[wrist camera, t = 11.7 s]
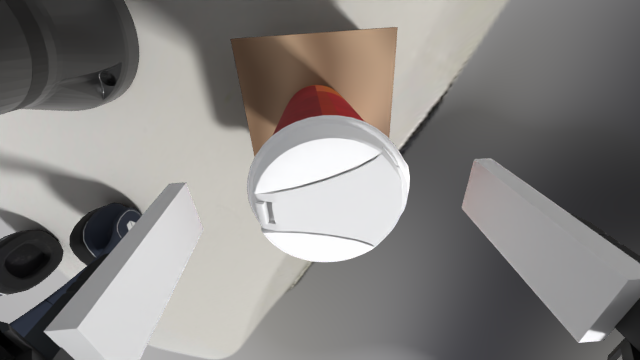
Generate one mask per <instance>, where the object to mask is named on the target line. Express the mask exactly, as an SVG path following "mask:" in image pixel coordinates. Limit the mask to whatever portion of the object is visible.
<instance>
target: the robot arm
mask: <svg viewBox="0 0 640 360" xmlns="http://www.w3.org/2000/svg"><path fill="white" fill-rule="evenodd" d="M138 62H139V44H138V38H137V33H136V29H135V26H134V22H133V20H132V17H131V14H130V12H129V10H128V8H127V6H126V4H125V2H124V0H0V115H1V114H4V113H7V112H10V111H14V110H17V109H34V110H58V111H80V110H87V109H91V108H95V107H98V106H100V105H103V104H105V103H108V102H111V101H113V100H115V99H116V98H118V97H120V96H121V95H122V94H123V93H124V92H125V91H126V90H127V89H128V88H129V87H130V85H131V83H132V82H133V80H134V78H135V75H136V72H137V68H138ZM462 209H463V210H464V211H465V212H466V214H467V215H468V216H469V217H470V218H471V219H472V221H473V222H474V223H475V224H476V225H477V226H478V228H479V229H480V230H481V231H482V232H483V233H484V234H485V235H486V237H487V238H488V239H489V240H490V241H491V243H492V244H493V245H494V246H495V247H496V248H497V249H498V250H499V252H500V253H501V254H502V255H503V256H504V257H505V259H506V260H507V261H508V262H509V263H510V264H511V266H512V267H513V268H514V269H515V270H516V271H517V272H518V274H519V275H520V276H521V277H522V278H523V279H524V280H525V282H526V283H527V284H528V285H529V286H530V287H531V289H532V290H533V291H534V292H535V293H536V294H537V296H538V297H539V298H540V299H541V300H542V301H543V302H544V304H545V305H546V306H547V307H548V308H549V309H550V310H551V312H552V313H553V314H554V315H555V316H556V317H557V319H558V320H559V321H560V322H561V323H562V324H563V325H564V326H565V328H566V329H567V330H568V331H569V332H570V334H571V335H572V336H573V337H574V338H575V339H576V340H577V342H579V343H581V342H592V341H602V340H605V339H606V337H607V336H608V335H609V334H610V333H611V332H612V331H613V330H614V328H616V329H617V330H618V331H619V332H620V333H621V334H622V335H623V336H624V337H625V338H624V339H623V341H621V343H620V344H619V345H618V346H617V347H616V348H615V349H614V350H613V351H612V352H611V353H610V354H609V355H608V359H607V360H617V359H618V358H619V357H620V356H622V359H623V360H640V256H639V255H637V254H636V253H635V252H633V251H632V250H630V249H629V248H627V247H626V246H624V245H620V243H619V242H618V241H617V240H615V239H614V238H613V237H611V236H607V235H606V233H605V232H604V231H602V230H601V229H599V228H598V227H597V226H595V225H594V224H592V223H591V222H589V221H586V220H584V219H582V218H580V217H577V216H575V215H573V214H569V213H568V212H566V211H565V210H563V209H562V208H561V207H559V206H558V205H556V204H555V203H554V202H552V201H551V200H549V199H548V198H546V197H545V196H543V195H542V194H541V193H539V192H538V191H537V190H535V189H534V188H532V187H531V186H529V185H528V184H527V183H525V182H524V181H522V180H521V179H520V178H518V177H517V176H515V175H514V174H513V173H511V172H510V171H508V170H507V169H505V168H504V167H503V166H501V165H500V164H498V163H497V162H496V161H494V160H493V159H491V158H487V159H475V160H474V163H473V167H472V170H471V174H470V178H469V182H468V185H467V190H466V193H465V197H464V201H463V204H462ZM203 230H204V229H203V226H202V224H201V221H200V218H199V215H198V213H197V210H196V207H195V205H194V202H193V199H192V197H191V194H190V191H189V189H188V186H187V183H186V182H185V183H172V184H168V186H167V187H166V188H165V189H164V190H163V191H162V193H161V194H160V195H159V196H158V197H157V199H156V200H155V201H154V202H153V203H152V204H151V206H150V207H149V208H148V209H147V210H146V211H145V213H144V214H143V215H142V216H141V217H140V219H139V220H138V221H137V222H136V223H135V224H134V226H133V227H132V228H131V229H130V230H129V231H128V233H127V234H126V235H125V236H124V237H123V239H122V240H121V241H120V242H119V243H118V244H117V246H116V247H115V248H114V249H113V250H112V251H111V253H107V254H103V255H102V256H101V257H99V258H98V259H97V260H95V261H94V262H93V263H91V264H90V265H88V267H87V268H86V269H85V270H84V271H83V272H82V273H81V274H80V275H79V277H78V278H77V279H76V282H73V283H72V284H71V285H70V287H69V288H68V289H67V290H66V293H65V294H62V296H61V297H60V298H59V299H58V300H57V301H56V302H55V303H54V304H53V306H52V307H51V308H50V309H49V310H48V311H47V312H46V313H45V314H44V316H43V317H42V318H41V319H40V320H39V321H38V322H37V323H36V325H35V326H34V327H33V328H32V329H31V330H30V331H29V332H28V333H27V335H26V336H25V337H22V336H21V335H20V334H19V333H18V332H17V331H16V330H15V329H13V328H12V327H11V326H10V325H9V324H8V323H4V322H0V360H140V358H141V356H142V354H143V352H144V350H145V348H146V346H147V344H148V342H149V340H150V338H151V336H152V334H153V332H154V330H155V328H156V325H157V323H158V321H159V319H160V317H161V315H162V313H163V311H164V309H165V307H166V305H167V303H168V301H169V299H170V297H171V295H172V293H173V291H174V289H175V287H176V285H177V283H178V281H179V279H180V277H181V274H182V272H183V270H184V268H185V266H186V264H187V262H188V260H189V258H190V256H191V254H192V252H193V250H194V248H195V246H196V244H197V242H198V240H199V238H200V236H201V234H202V232H203Z"/></svg>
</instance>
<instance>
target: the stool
mask: <svg viewBox="0 0 640 360" xmlns="http://www.w3.org/2000/svg"><path fill="white" fill-rule="evenodd" d="M397 28H398V27H390V28H376V29H362V30H348V31H334V32H319V33H305V34H291V35H277V36H263V37H249V38H235V39H231V44H232V49H233V54H234V58H235V63H236V68H237V73H238V78H239V83H240V88H241V93H242V97H243V102H244V107H245V112H246V117H247V122H248V127H249V131H250V136H251V141H252V146H253V151H254V156H256V154H257V153H258V151H259V150H260V148H261V147H262V146H263V144H264V143H265V142H266V141H267V140H268V139H269V138H270V137H271V136H272V135H273V133H274V131H275V129H276V127H277V125H278V123H279V120H280V118H281V116H282V114H283V112H284V110H285V108H286V106H287V104H288V103H289V101H290V99H291V98H292V97H293V96H294V94H296V93H297V92H298V91H299V90H301V89H302V88H305V87H307V86H311V85H323V86H327V87H330V88H332V89H333V90H335V91H336V92H338V93H339V94H340V95H341V96H342V97H343V98H344V99H345V100H346V101H347V102H348V103H349V104H350V105H351V107H352V108H353V109H354V110H355V111H356V112H357V113H358V114H359V116H360V117H361V118H362V119H363V120H364V121H365V122H366V123H368V124H370V125H372V126H374V127H376V128H377V129H379V130H380V131H381V132H382V133H384V134H385V135H386V136H387V137H388V138H389V133H390V120H391V106H392V93H393V80H394V67H395V54H396V41H397Z"/></svg>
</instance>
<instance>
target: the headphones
mask: <svg viewBox="0 0 640 360" xmlns="http://www.w3.org/2000/svg"><path fill="white" fill-rule="evenodd" d="M141 216H142V214H141V213H140V212H139V211H138V210H136V209H135V208H130V207H129V208H127V207H125V206H124V205H122V204H118V203H112V204H109V205H107V206H103V207H101V208H98V209H96V210H94V211H92V212H89V213H88V214H87V215H85V216H84V217H83V218H82V219H81V220H80V221H79V222H78V223H77V224H76V225H75V227H74V229H73V231H72V233H71V235H70V247H71V249H72V251H73V253H74V254H75V255H76V256H77V257H78V258H79V259H80V260H81V261H82V262H83V263H85V264H86V265H87V267H88V265H90V264H91V263H93V262H94V261H95V260H97V259H98V258H99V257H101V256H102V255H103V254H107V253H111V251H112V250H113V249H114V248H115V247H116V246H117V244H118V243H119V242H120V241H121V240H122V239H123V237H124V236H125V235H126V234H127V233H128V231H129V230H130V229H131V228H132V227H133V226H134V224H135V223H136V222H137V221H138V220H139V219H140V217H141ZM62 257H63V249H62V247H61V245H60V243H59V242H58V241H57V240H56V239H55V238H54V237H52V236H51V235H50V234H48V233H46V232H44V231H41V230H27V231H20V232H16V233H13V234H11V235H8V236H5V237H3V238H1V239H0V296H1V295H7V294H13V293H18V292H22V291H26V290H28V289H30V288H32V287H34V286H36V285H37V284H39V283H40V282H42V281H43V280H44V279H45V278H47V277H48V276H49V275H50V274H51V273H52V272H53V271H54V270H55V269H56V268H57V267H58V265H59V264H60V262H61V261H62ZM87 267H85V268H84V269H83V270H82V271H81V272H79V273H78V274H77V275H76V276H75V277H73V278H72V279H71V280H70V281H69V282H67V283H66V284H65V285H64V286H62V287H61V288H60V289H58V290H57V291H56V292H54V293H53V294H52V295H50V296H49V297H48V298H47V299H45V300H44V301H42V302H41V303H40V304H38V305H37V306H36V307H34V308H33V309H31V310H30V311H28V312H27V313H25V314H24V315H22V316H21V317H19V318H18V319H16V320H15V321H13V322H12V323H10V324H9V325H10V326H11V327H12V328H13V329H15V330H16V331H17V332H18V333H19V334H20V335H21V336H22V337H25V336H26V335H27V333H28V332H29V331H30V330H31V329H32V328H33V327H34V326H35V325H36V323H37V322H38V321H39V320H40V319H41V318H42V317H43V316H44V314H45V313H46V312H47V311H48V310H49V309H50V308H51V307H52V306H53V304H54V303H55V302H56V301H57V300H58V299H59V298H60V297H61V296H62V294H65V293H66V290H67V289H68V288H69V287H70V285H71V284H72V283H73V282H76V279H77V278H78V277H79V275H80V274H81V273H82V272H83V271H84V270H85V269H86V268H87Z"/></svg>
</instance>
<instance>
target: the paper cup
mask: <svg viewBox="0 0 640 360" xmlns="http://www.w3.org/2000/svg"><path fill="white" fill-rule="evenodd" d="M409 181H410V175H409V168H408V165H407V164H406V162H405V161H404V159H403V157H402V156H401V154H400V153H399V151H398V149H397V147H396V146H395V145H394V143H393V142H392V141H391V140H390V139H389V138H388V137H387V136H386V135H385V134H384V133H382V132H381V131H380V130H379V129H377V128H376V127H374V126H372V125H370V124H368V123H366V122H365V121H364V120H363V119H362V118H361V117H360V116H359V114H358V113H357V112H356V111H355V110H354V109H353V108H352V107H351V105H350V104H349V103H348V102H347V101H346V100H345V99H344V98H343V97H342V96H341V95H340V94H339V93H338V92H336V91H335V90H333V89H332V88H330V87H327V86H323V85H311V86H307V87H305V88H302V89H301V90H299V91H298V92H297V93H296V94H294V96H293V97H292V98H291V99H290V101H289V103H288V104H287V106H286V108H285V110H284V112H283V114H282V116H281V118H280V120H279V123H278V125H277V127H276V129H275V131H274V133H273V135H272V136H271V137H270V138H269V139H268V140H267V141H266V142H265V143H264V144H263V146H262V147H261V148H260V150H259V151H258V153H257V154H256V156H255V158H254V160H253V162H252V165H251V167H250V171H249V175H248V181H247V192H248V199H249V203H250V206H251V209H252V211H253V213H254V215H255V216H256V218H257V220H258V221H259V223H260V224H261V227H262V232H263V233H264V235H265V236H266V237H267V238H268V240H269V241H271V242H272V243H273V244H274V245H275V246H276V247H278V248H279V249H281V250H282V251H284V252H286V253H288V254H290V255H292V256H294V257H297V258H300V259H304V260H309V261H315V262H335V261H342V260H346V259H350V258H354V257H357V256H359V255H362V254H364V253H365V252H368V251H370V250H372V249H373V248H374V247H375V246H377V245H378V244H379V243H380V242H381V241H382V240H383V239H384V238H385V237H386V236H387V235H388V234H389V233H390V232H391V230H392V229H393V228H394V226H395V225H396V223H397V221H398V219H399V217H400V215H401V214H402V212H403V210H404V208H405V206H406V202H407V195H408V190H409Z"/></svg>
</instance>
